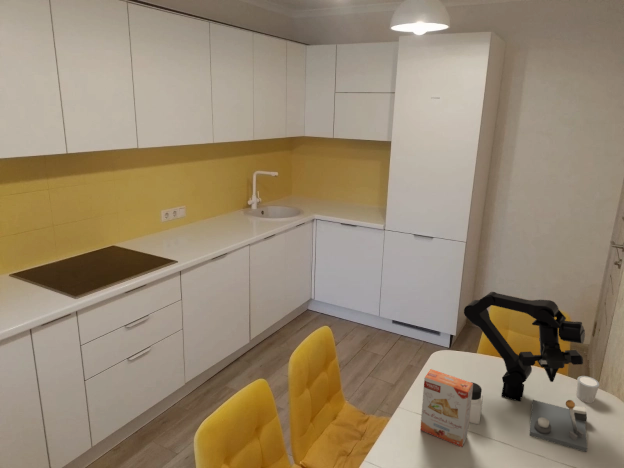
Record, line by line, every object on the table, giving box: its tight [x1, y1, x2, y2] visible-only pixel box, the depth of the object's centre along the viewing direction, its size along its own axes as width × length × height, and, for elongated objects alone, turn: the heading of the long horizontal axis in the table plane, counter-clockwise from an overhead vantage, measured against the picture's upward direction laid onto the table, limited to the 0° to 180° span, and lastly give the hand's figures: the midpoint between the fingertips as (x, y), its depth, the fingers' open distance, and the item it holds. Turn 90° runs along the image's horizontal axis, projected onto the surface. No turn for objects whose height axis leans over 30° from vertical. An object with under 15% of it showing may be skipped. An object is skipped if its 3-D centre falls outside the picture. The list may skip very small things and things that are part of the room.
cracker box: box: [420, 368, 474, 448], centre depth 145 cm, size 14×6×21 cm, turn 56°
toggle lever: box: [565, 399, 578, 433], centre depth 144 cm, size 3×3×10 cm
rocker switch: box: [573, 405, 587, 414], centre depth 152 cm, size 4×2×1 cm, turn 62°
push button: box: [538, 418, 549, 428], centre depth 147 cm, size 3×3×1 cm
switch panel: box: [529, 399, 588, 453], centre depth 150 cm, size 16×18×3 cm
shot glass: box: [575, 375, 600, 403], centre depth 164 cm, size 7×7×7 cm
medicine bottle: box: [469, 381, 484, 425], centre depth 154 cm, size 7×7×12 cm
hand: (551, 381), depth 155 cm, fingers closed
